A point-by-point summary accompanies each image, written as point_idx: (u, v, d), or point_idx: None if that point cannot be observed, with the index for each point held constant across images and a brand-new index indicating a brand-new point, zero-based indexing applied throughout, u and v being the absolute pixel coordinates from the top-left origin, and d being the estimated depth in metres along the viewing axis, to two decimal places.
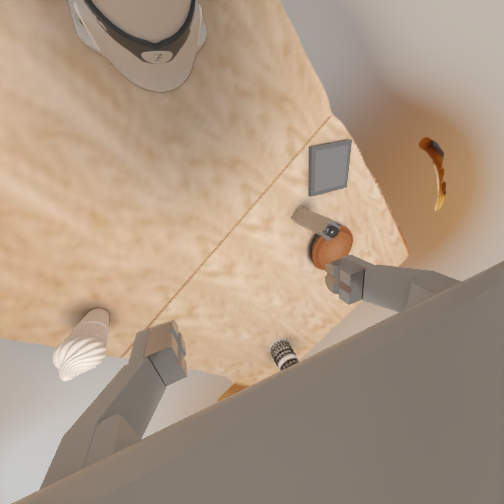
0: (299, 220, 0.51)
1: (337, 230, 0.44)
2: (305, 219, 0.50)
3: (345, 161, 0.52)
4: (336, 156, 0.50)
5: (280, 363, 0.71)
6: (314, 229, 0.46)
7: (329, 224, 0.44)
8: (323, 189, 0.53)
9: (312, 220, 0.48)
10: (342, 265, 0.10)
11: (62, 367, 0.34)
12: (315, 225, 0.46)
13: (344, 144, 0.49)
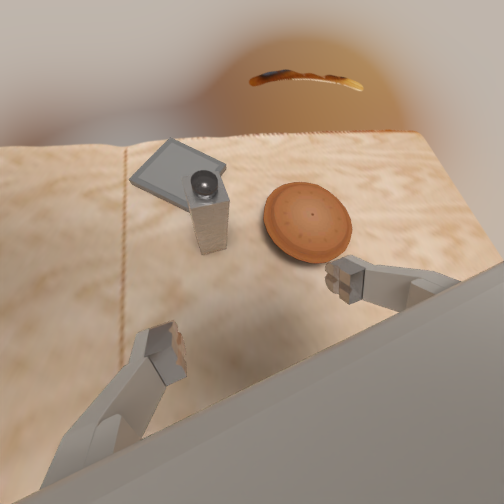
0: (198, 242, 0.27)
1: (206, 173, 0.19)
2: (195, 230, 0.26)
3: (189, 152, 0.36)
4: (171, 159, 0.35)
5: None
6: (192, 219, 0.21)
7: (186, 184, 0.20)
8: None
9: None
10: (342, 265, 0.10)
11: None
12: None
13: (167, 146, 0.36)
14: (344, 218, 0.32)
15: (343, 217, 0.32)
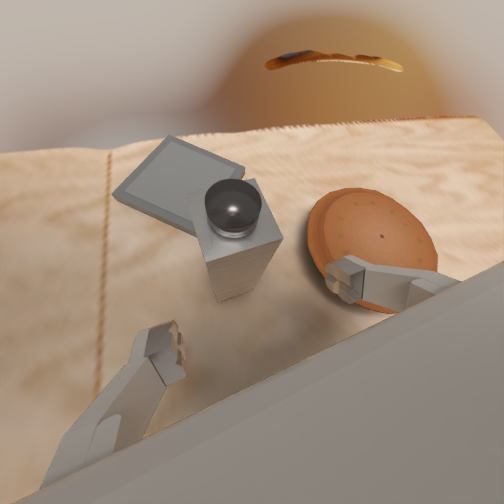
0: None
1: (235, 184, 0.09)
2: None
3: (195, 153, 0.27)
4: (171, 163, 0.26)
5: None
6: None
7: (195, 208, 0.10)
8: None
9: None
10: (342, 265, 0.10)
11: None
12: None
13: (165, 146, 0.27)
14: (426, 239, 0.22)
15: (425, 237, 0.22)
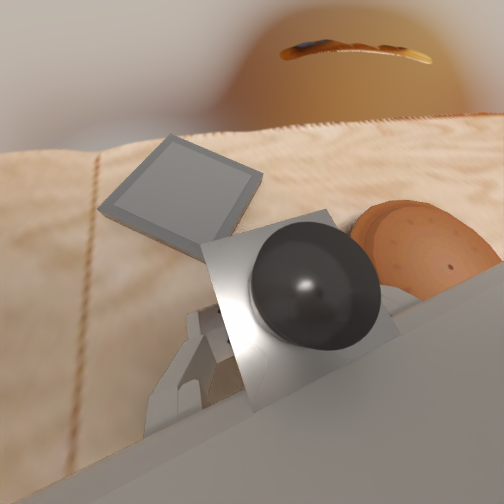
0: None
1: (315, 236, 0.04)
2: None
3: (202, 156, 0.22)
4: (173, 168, 0.21)
5: None
6: None
7: (224, 278, 0.05)
8: (222, 223, 0.19)
9: None
10: None
11: None
12: None
13: (165, 147, 0.22)
14: None
15: None
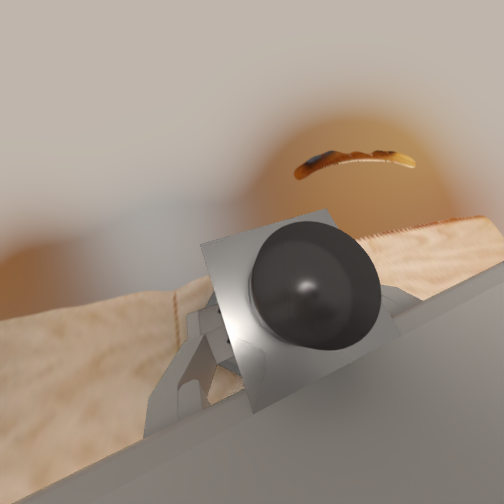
0: None
1: (315, 235, 0.04)
2: None
3: None
4: None
5: None
6: None
7: (224, 277, 0.05)
8: None
9: None
10: None
11: None
12: None
13: None
14: None
15: None
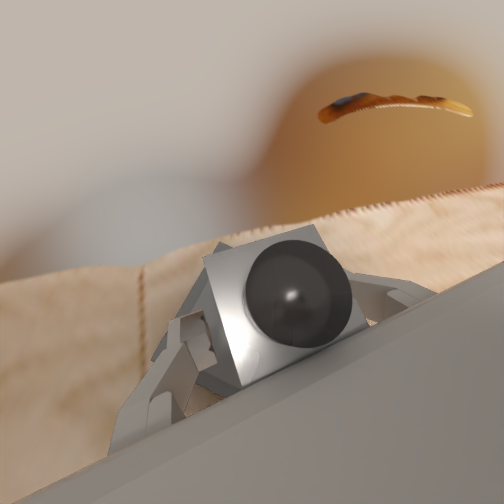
0: None
1: (299, 252, 0.05)
2: None
3: None
4: None
5: None
6: None
7: (222, 286, 0.06)
8: None
9: None
10: None
11: None
12: None
13: None
14: None
15: None
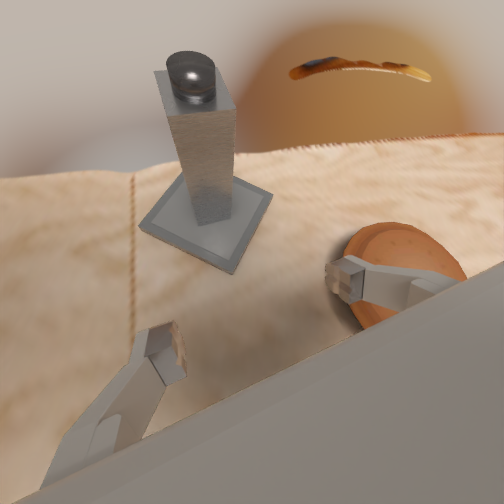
0: None
1: (194, 55, 0.11)
2: None
3: None
4: None
5: None
6: (176, 149, 0.13)
7: (162, 82, 0.12)
8: (239, 239, 0.23)
9: (179, 160, 0.16)
10: (342, 265, 0.10)
11: None
12: None
13: None
14: None
15: None
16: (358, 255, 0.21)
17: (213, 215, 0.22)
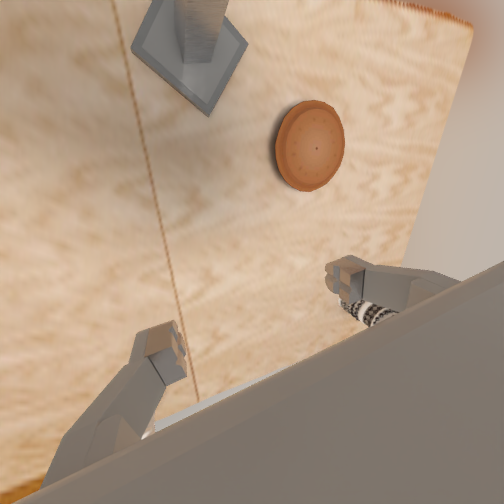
0: (183, 43, 0.25)
1: None
2: (181, 23, 0.23)
3: None
4: None
5: (360, 318, 0.54)
6: (185, 5, 0.19)
7: None
8: (216, 87, 0.30)
9: (179, 0, 0.20)
10: (342, 265, 0.10)
11: None
12: None
13: None
14: (339, 155, 0.38)
15: (339, 153, 0.38)
16: (291, 123, 0.34)
17: (197, 57, 0.27)
